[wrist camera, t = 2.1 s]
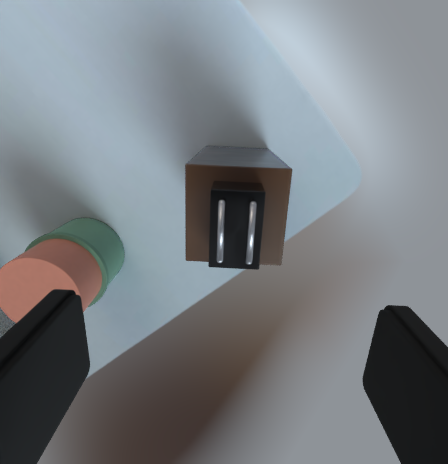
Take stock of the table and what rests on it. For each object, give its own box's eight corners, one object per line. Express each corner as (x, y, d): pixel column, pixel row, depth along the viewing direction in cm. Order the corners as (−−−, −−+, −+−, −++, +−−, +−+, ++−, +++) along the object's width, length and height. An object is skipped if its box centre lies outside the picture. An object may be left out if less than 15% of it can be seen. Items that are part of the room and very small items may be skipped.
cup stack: (123, 217, 37) (80, 255, 27) (128, 284, 41) (91, 340, 30) (49, 214, 38) (-22, 249, 27) (59, 280, 41) (-1, 335, 30)
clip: (261, 182, 20) (266, 193, 17) (256, 252, 22) (259, 273, 19) (213, 180, 20) (209, 191, 17) (211, 249, 22) (207, 270, 19)
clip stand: (269, 148, 34) (292, 168, 20) (263, 209, 36) (281, 265, 22) (206, 146, 34) (185, 164, 20) (204, 206, 37) (185, 260, 22)
